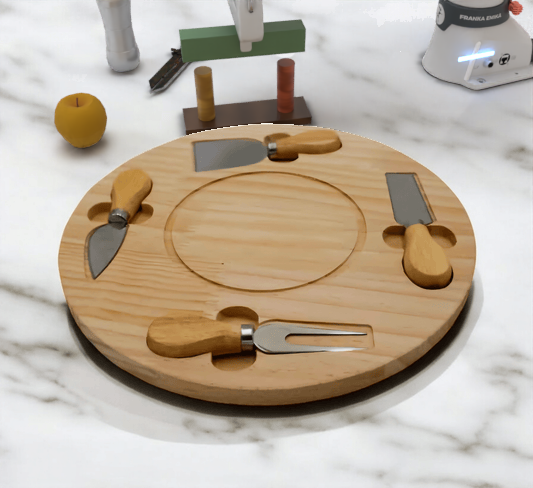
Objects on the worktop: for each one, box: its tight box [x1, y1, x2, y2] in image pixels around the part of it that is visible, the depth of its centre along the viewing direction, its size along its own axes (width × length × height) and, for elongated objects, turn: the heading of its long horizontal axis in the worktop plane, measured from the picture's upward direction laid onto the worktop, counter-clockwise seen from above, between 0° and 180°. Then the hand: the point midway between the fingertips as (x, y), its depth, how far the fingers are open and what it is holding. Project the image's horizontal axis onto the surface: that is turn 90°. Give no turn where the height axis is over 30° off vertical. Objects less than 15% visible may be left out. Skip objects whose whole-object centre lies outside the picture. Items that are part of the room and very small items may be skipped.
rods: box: [182, 57, 313, 136], centre depth 112 cm, size 22×7×10 cm, turn 100°
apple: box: [53, 92, 108, 149], centre depth 108 cm, size 8×8×9 cm
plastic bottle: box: [95, 0, 141, 73], centre depth 123 cm, size 6×7×20 cm
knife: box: [148, 45, 190, 95], centre depth 130 cm, size 25×6×1 cm, turn 154°
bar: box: [178, 18, 307, 63], centre depth 105 cm, size 20×4×4 cm, turn 100°
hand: (243, 42), depth 106 cm, fingers closed on bar, 3 cm apart
